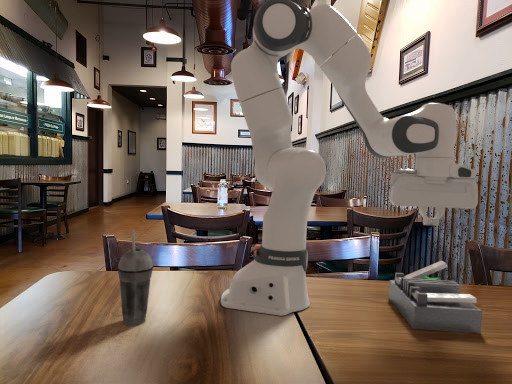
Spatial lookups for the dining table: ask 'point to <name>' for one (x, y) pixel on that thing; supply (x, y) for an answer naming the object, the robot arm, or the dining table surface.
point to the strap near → (448, 297)
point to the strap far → (424, 271)
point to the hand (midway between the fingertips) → (430, 225)
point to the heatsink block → (434, 306)
